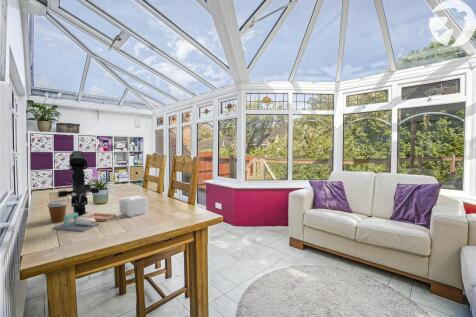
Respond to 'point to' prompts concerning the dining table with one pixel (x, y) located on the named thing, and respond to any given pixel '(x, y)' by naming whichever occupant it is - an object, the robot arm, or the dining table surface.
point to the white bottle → (84, 221)
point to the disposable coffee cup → (57, 210)
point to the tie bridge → (66, 222)
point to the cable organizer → (133, 205)
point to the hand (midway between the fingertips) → (79, 206)
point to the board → (75, 227)
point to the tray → (101, 216)
